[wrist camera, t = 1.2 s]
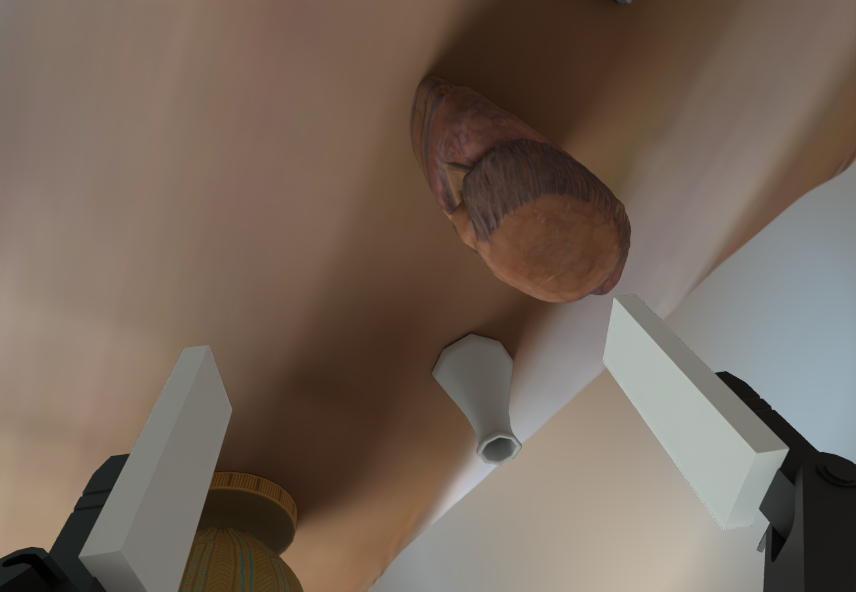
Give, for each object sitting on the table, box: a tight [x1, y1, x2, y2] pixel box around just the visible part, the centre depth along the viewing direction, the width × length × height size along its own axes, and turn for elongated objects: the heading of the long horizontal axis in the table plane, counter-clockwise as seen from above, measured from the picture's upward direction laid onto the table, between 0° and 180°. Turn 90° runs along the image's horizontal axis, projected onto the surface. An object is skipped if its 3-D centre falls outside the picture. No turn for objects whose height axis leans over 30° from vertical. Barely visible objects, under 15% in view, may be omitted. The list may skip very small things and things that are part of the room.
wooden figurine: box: [410, 76, 631, 303], centre depth 26 cm, size 12×6×18 cm, turn 55°
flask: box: [431, 334, 522, 465], centre depth 40 cm, size 7×7×10 cm
